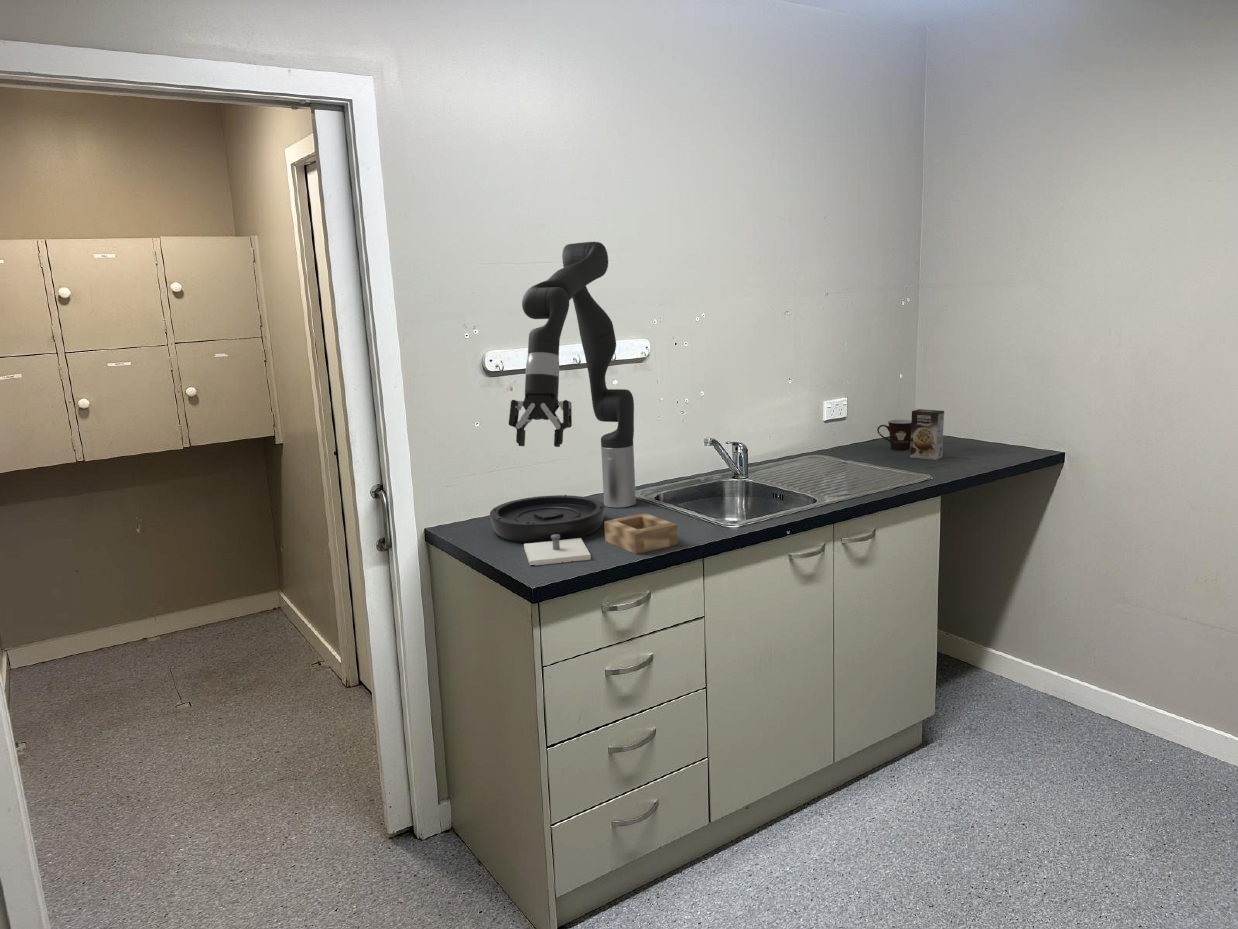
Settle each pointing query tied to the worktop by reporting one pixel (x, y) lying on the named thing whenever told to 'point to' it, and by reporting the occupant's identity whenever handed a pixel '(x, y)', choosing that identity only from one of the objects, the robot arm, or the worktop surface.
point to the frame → (640, 533)
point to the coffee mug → (899, 434)
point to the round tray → (547, 518)
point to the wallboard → (556, 551)
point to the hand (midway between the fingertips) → (538, 446)
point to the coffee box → (927, 434)
